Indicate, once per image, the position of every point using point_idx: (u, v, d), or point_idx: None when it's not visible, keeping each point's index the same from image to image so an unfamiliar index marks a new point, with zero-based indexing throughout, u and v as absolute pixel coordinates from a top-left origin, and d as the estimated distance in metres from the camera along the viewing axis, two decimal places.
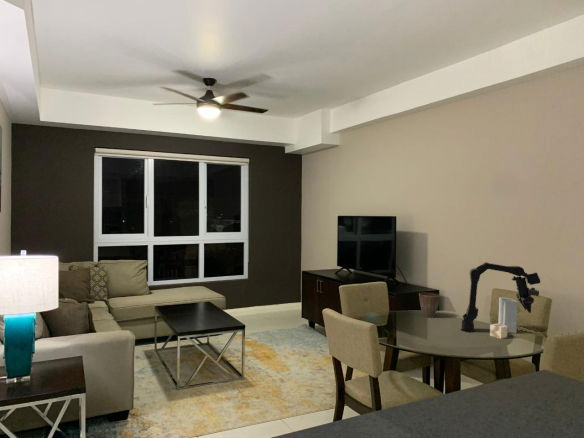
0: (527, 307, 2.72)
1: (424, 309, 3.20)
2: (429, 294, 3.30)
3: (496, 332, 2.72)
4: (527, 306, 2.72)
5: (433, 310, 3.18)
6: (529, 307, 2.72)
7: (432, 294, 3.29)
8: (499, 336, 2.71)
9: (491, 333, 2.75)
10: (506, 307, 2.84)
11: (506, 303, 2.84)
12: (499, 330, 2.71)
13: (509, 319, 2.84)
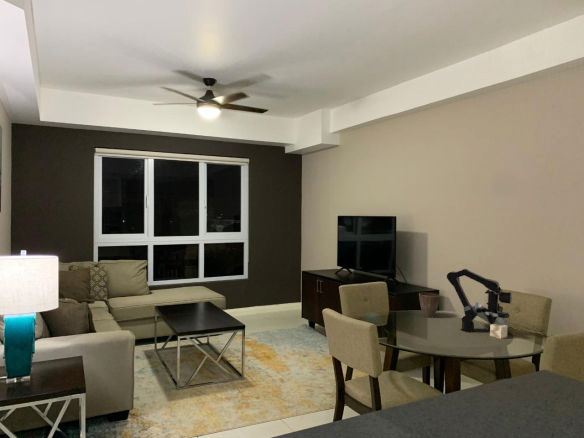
0: (493, 321, 2.77)
1: (424, 309, 3.20)
2: (429, 294, 3.30)
3: (496, 332, 2.72)
4: (493, 320, 2.77)
5: (433, 310, 3.18)
6: (494, 321, 2.77)
7: (432, 294, 3.29)
8: (499, 336, 2.71)
9: (491, 333, 2.75)
10: (482, 317, 2.86)
11: (478, 315, 2.87)
12: (499, 330, 2.71)
13: None
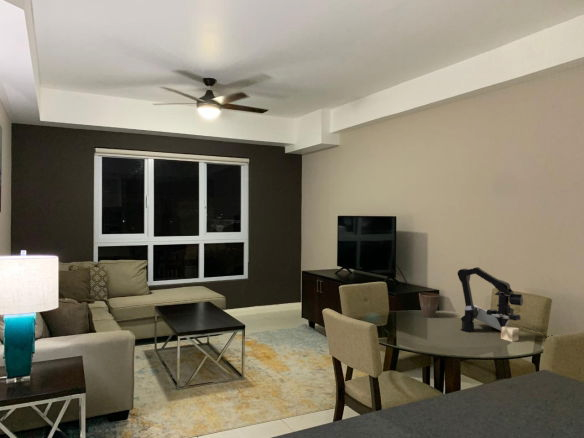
0: (504, 323, 2.71)
1: (424, 309, 3.20)
2: (429, 294, 3.30)
3: (505, 335, 2.67)
4: (504, 322, 2.71)
5: (433, 310, 3.18)
6: (504, 323, 2.72)
7: (432, 294, 3.29)
8: (502, 337, 2.69)
9: (504, 329, 2.68)
10: (481, 320, 2.86)
11: (477, 319, 2.86)
12: (508, 339, 2.66)
13: (493, 322, 2.85)
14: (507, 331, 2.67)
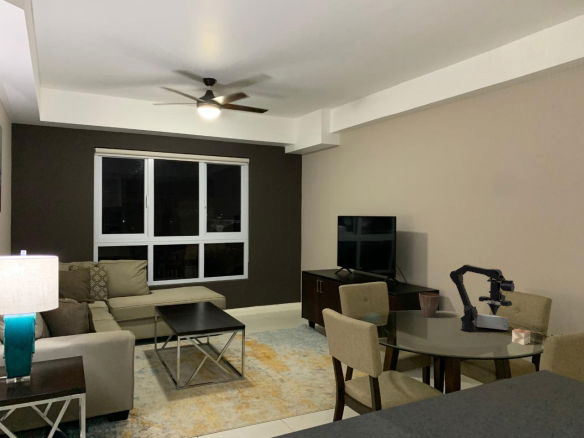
0: (495, 309, 2.73)
1: (424, 309, 3.20)
2: (429, 294, 3.30)
3: (516, 336, 2.62)
4: (496, 308, 2.73)
5: (433, 310, 3.18)
6: (496, 310, 2.74)
7: (432, 294, 3.29)
8: (513, 332, 2.63)
9: (522, 335, 2.59)
10: (482, 325, 2.85)
11: (478, 325, 2.85)
12: (513, 338, 2.63)
13: (494, 324, 2.85)
14: (521, 338, 2.60)
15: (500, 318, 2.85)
